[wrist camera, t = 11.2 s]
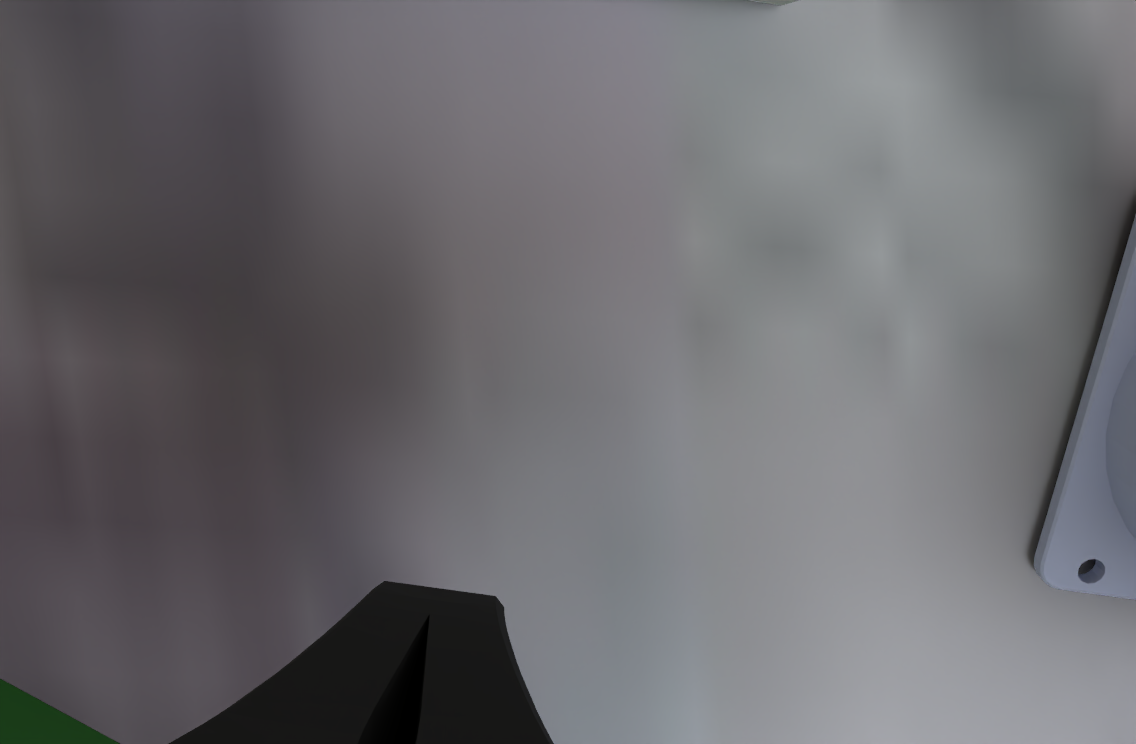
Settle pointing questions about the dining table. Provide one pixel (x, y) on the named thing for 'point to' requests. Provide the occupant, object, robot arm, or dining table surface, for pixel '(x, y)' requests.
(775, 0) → the sage board
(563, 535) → the dining table surface
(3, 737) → the hardback book
